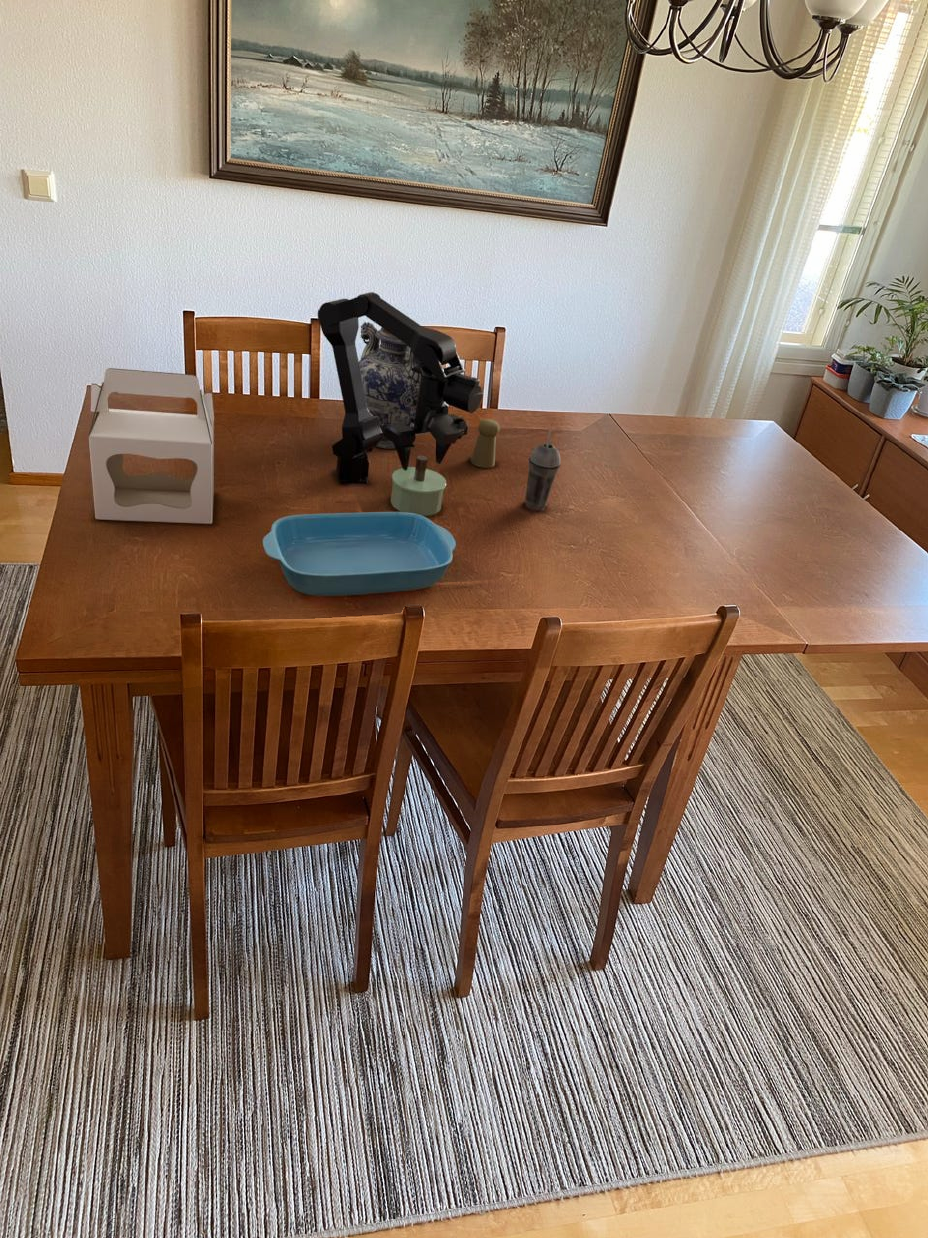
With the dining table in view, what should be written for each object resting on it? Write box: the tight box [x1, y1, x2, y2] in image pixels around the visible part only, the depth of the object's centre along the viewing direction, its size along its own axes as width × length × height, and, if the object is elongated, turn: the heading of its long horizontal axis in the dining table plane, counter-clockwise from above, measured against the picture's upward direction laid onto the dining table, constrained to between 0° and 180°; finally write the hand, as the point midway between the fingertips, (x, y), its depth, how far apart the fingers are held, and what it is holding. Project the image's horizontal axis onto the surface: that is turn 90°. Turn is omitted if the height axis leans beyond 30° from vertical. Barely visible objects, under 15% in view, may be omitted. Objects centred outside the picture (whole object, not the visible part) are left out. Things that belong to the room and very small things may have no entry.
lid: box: [391, 455, 447, 494], centre depth 194 cm, size 12×12×6 cm
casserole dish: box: [262, 511, 457, 597], centre depth 170 cm, size 37×22×7 cm, turn 110°
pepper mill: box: [470, 418, 501, 469], centre depth 221 cm, size 6×6×11 cm
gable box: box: [88, 367, 215, 525], centre depth 172 cm, size 22×13×28 cm, turn 102°
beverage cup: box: [524, 427, 561, 512], centre depth 202 cm, size 7×7×20 cm
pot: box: [390, 481, 445, 517], centre depth 197 cm, size 11×11×6 cm
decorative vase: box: [358, 321, 420, 450], centre depth 218 cm, size 21×19×28 cm
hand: (421, 466), depth 193 cm, fingers open, 9 cm apart
